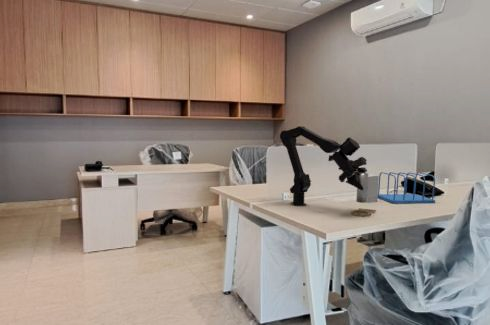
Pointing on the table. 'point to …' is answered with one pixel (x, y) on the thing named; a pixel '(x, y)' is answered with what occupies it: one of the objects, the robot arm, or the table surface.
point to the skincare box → (372, 188)
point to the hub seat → (357, 212)
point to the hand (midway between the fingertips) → (365, 189)
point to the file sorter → (405, 197)
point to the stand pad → (368, 210)
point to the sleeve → (364, 182)
